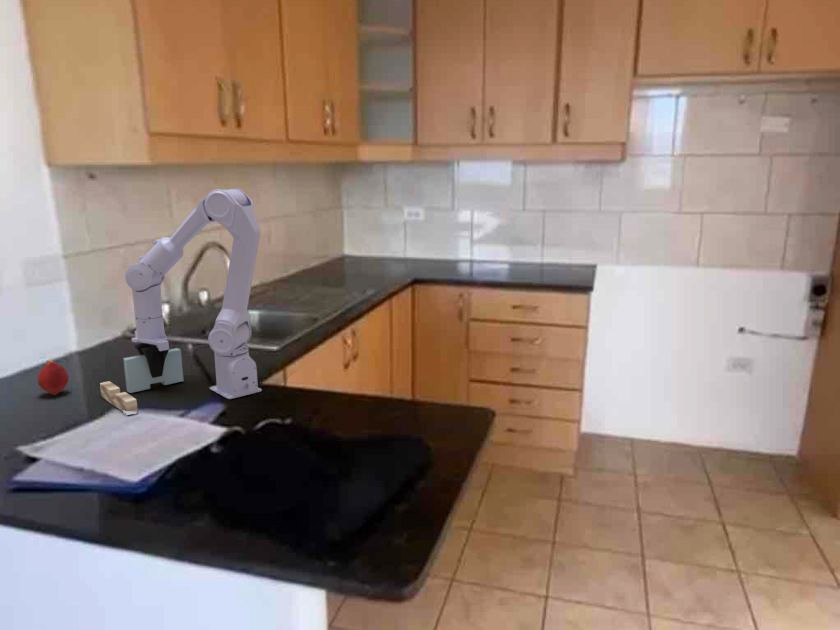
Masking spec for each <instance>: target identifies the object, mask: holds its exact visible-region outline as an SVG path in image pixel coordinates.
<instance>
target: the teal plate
mask: <svg viewBox="0 0 840 630" xmlns="http://www.w3.org/2000/svg"><path fill="white" fill-rule="evenodd" d="M122 359H123V368H124V377H125V386H126V392H127V393H128V394H129V393H130V394H133V393H137V392H141V391H145V390H150V389H151V385H153V384H158V383H161V384H162V385H163V386H167V385H171V384H176V383H180V382H184V370H183V360H182V350H181V348H178V347H176V348H170V349H169V351H168V353H167V356H166V358H165V362H164V368H163V374H162V376H160V377H155V378H153V377H152V376H151V373H150V369H149V365H148V362H147V359H146V357H145V355H144V354H143V355H140V354H138V355H133V356H129V357H123V358H122Z"/></svg>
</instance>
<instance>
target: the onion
mask: <svg viewBox="0 0 840 630" xmlns="http://www.w3.org/2000/svg"><path fill="white" fill-rule="evenodd" d="M69 378H70V377H69V374H68V371H67V370H66V368H64V366H62V365H60V364H59V363H57V362H55V361H53V360H52V359H48V360H47V361H46V365H44V366H43V367H42V368H41V369H40V371H39V372H38V375H37V383H38V386H39V387H40V389H42V390H44V391H45V392H47V393H49V394H50V395H52V396H57V395H58V394H59V393H61V392H62V391H63V390H64V389H65V388H66V387H67V385H68V383H69Z"/></svg>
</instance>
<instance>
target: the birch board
mask: <svg viewBox="0 0 840 630" xmlns="http://www.w3.org/2000/svg"><path fill="white" fill-rule="evenodd" d="M99 387H100V396H101V397H102V398H103V399H104V400H105V401H106V402H108V403H110V404H111V405H113V407H115V408H116V409H117V408H119V409H122V410H125V411H139V409H138V402H137V398H135V397H133V396H132V395H131V394H129V392H127V391H123V392H121V388H120V387H119V386H118V385H116V384H114V383H113V382H111V381H110V380H109V381H103V382H100V383H99ZM119 409H118V410H119Z"/></svg>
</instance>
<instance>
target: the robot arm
mask: <svg viewBox="0 0 840 630" xmlns="http://www.w3.org/2000/svg"><path fill="white" fill-rule="evenodd" d="M254 207H255V205H254V201H252V199H251V198H250V197H249V196H248V194H247V193H245V192H244V191H243V189H242V190H241V189H239V188H236V187H235V188H230V189H219V188H218V189H214V190H211V191H210V192H208V194H207V195H206V197H204V198H203V199H201V200H200V201H199V202H198V203H197V204H196V206H195V208H193V210H192V211H191V212H190V213H189V214H188V216H187V217H186V218H185V219H184V221H183V222H182V223H181V224H180V225H179V227H177V229H176V230H175V231H174V232H173V234H172V235H171V236H170V237H169V236H168V237H167V236H165V237H161V238H158V239H155V240H154V241H152V244H153V246H152V247H151V248H150V249H149V250H148V252H147V253H146V254H144V255H140V257H139V259H138V260H139V263H132V264H130V265H129V266H128V268H127V269H126V272H125V276H124V277H125V282H126V284H127V286H128V287H129V288H130V289H131V292H132V293H131V294H132V302H133V309H134V310H133V311H134V321H135V328H136V329H135V330H134V337H131V342H132V343H137V344H135V345H134V348H135V350H136V351H137V352H138V355H143V354H144V355H145V357H146V359H147V362H148V365H149V369H150V373H151V376H152V377H153V378H155V377H160V376H162V374H163V368H164V362H165V358H166V356H167V353H168V351H169V350H170V349H171V347H170V345H169V344H170V343H169V340H168V339H167V335H166V333H165V326H164V325H165V323H164V315H163V314H164V312H163V303H162V294H161V293H162V291H161V290H162V289H161V286H162V284H163V282H164V281H165V276H166V275H167V274H168V272H169V271H170V270H171V269H172V268H173V267H174V266H175V265H176V264H177V263H178V262H179V261H180V260H181V259H182V258H183V257H184V255H185V254H184V253H185V252H184V247H185V246H186V245H188V243H189V242H191V241H192V240H193V238H195V237H196V236H197V235H198V234H199V233H200V232H201V231H202V230H203V229H205V227H207V225H208V224H212V223H215V222H216V223H218V224H219V225H221V226H222V227H224V228H225V229H226V230H227V231H228V233H229V235H230V236H231V237H233V240H232V246H231V253H230V259H229V264H228V269H227V270H228V271H227V275H226V282H225V288H224V292H223V293H224V295H223V301H222V307H221V309H220V311H219V312H218V315H217V317H216V318H215V322H214V326H213V328H212V329H211V331H210V332H209V334H208V337H207V340H208V341H207V342H208V344H209V345H208V346H209V347H210V349H211V350H212V352H214V364H215V365H214V366H215V377H216V378H215V379H216V380H215V381H216V384H215V385H212V386H210V387H209V390H211V391H213V392H214V393H216V394H218V395H220V396H222V397H223V398H225V399H227V400H232V399H236V398H240V397H241V398H242V397H244V396H247V395H248V396H249V395H252V394H256V393H260V392H262V390H263V389H262V388H260V387H259V386H258V385H259V384H258V370H257V369H258V366H257V363H256V361H255V360H254V359H253V358H252V357H251V356H250V352H249V346H248V345H249V344H248V342H249V340H250V339H251V337H252V328H251V325H250V320H251V319H250V318H251V315H250V313H249V312H248V306H249V301H250V295H251V289H252V284H253V280H254V272H255V269H256V261H257V257H258V256H257V255H258V251H259V250H258V249H259V246H260V241H261V240H260V239H261V229H260V225H259V222H258V219H257V216H256V212H255V210H254Z"/></svg>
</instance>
